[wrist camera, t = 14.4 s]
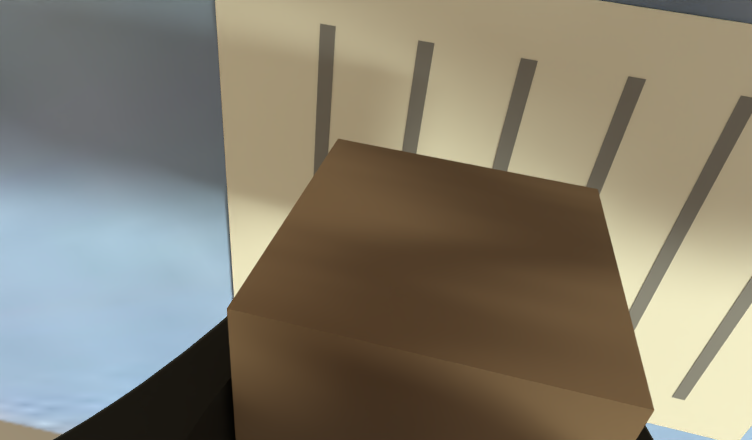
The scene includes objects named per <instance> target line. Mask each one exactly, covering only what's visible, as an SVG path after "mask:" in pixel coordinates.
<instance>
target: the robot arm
mask: <svg viewBox="0 0 752 440" xmlns="http://www.w3.org/2000/svg"><path fill="white" fill-rule="evenodd" d="M54 440H236V437H235V422H234V407H233V392H232V377H231V362H230V346H229V331H228V316H227V317H226V318H225V319H223V320H222V321H221V322H220V323H219V324H218V325H216V326H215V327H214V328H213V329H211V330H210V331H209V332H208V333H207V334H205V335H204V336H203V337H202V338H201V339H199V340H198V341H197V342H196V343H194V344H193V345H192V346H191V347H190V348H188V349H187V350H186V351H184V352H183V353H182V354H181V355H179V356H178V357H177V358H175V359H174V360H173V361H171V362H170V363H169V364H167V365H166V366H165V367H163V368H162V369H160V370H159V371H158V372H156V373H155V374H154V375H152V376H151V377H150V378H148V379H147V380H146V381H144V382H143V383H142V384H140V385H139V386H137V387H136V388H134V389H133V390H131V391H130V392H129V393H127V394H126V395H124V396H123V397H121V398H120V399H118V400H117V401H115V402H114V403H112V404H111V405H109V406H108V407H106V408H104V409H103V410H101V411H100V412H98V413H97V414H95V415H94V416H92V417H90V418H89V419H87V420H86V421H84V422H82V423H81V424H79V425H77V426H76V427H74V428H72V429H71V430H69V431H67V432H65V433H64V434H62V435H60V436H59V437H57V438H56V439H54ZM636 440H653V438H652V436H651V435H650V433H649V431H648V429H647V427H646V426H644V428H643V429H642V431H641V432H640V434H639V436H638V437H637V439H636Z"/></svg>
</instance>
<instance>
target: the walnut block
mask: <svg viewBox="0 0 752 440" xmlns="http://www.w3.org/2000/svg"><path fill="white" fill-rule="evenodd" d="M227 316H228V331H229V346H230V362H231V377H232V392H233V407H234V422H235V437H236V440H636V439H637V437H638V436H639V434H640V432H641V431H642V429H643V428H644V426H645V424H646V423H647V421H648V420H649V418H650V417H651V415H652V413H653V412H654V407H653V403H652V399H651V395H650V391H649V387H648V383H647V379H646V375H645V372H644V368H643V364H642V360H641V356H640V352H639V348H638V344H637V340H636V336H635V332H634V329H633V325H632V321H631V317H630V313H629V309H628V305H627V301H626V297H625V293H624V289H623V286H622V282H621V278H620V274H619V270H618V266H617V262H616V258H615V254H614V250H613V246H612V243H611V239H610V235H609V231H608V227H607V223H606V219H605V215H604V211H603V207H602V203H601V200H600V196H599V192H598V189H595V188H590V187H585V186H579V185H574V184H569V183H564V182H559V181H554V180H549V179H543V178H538V177H533V176H528V175H523V174H518V173H513V172H507V171H502V170H497V169H492V168H487V167H482V166H477V165H471V164H466V163H461V162H456V161H451V160H446V159H441V158H435V157H430V156H425V155H420V154H415V153H410V152H405V151H400V150H394V149H389V148H384V147H379V146H374V145H369V144H364V143H358V142H353V141H348V140H343V139H337V141H336V142H335V144H334V145H333V147H332V148H331V150H330V152H329V153H328V155H327V156H326V158H325V159H324V161H323V162H322V164H321V165H320V167H319V168H318V170H317V171H316V173H315V175H314V176H313V178H312V179H311V181H310V182H309V184H308V185H307V187H306V188H305V190H304V191H303V193H302V194H301V196H300V197H299V199H298V201H297V202H296V204H295V205H294V207H293V208H292V210H291V211H290V213H289V214H288V216H287V217H286V219H285V220H284V222H283V224H282V225H281V227H280V228H279V230H278V231H277V233H276V234H275V236H274V237H273V239H272V240H271V242H270V243H269V245H268V246H267V248H266V250H265V251H264V253H263V254H262V256H261V257H260V259H259V260H258V262H257V263H256V265H255V266H254V268H253V269H252V271H251V273H250V274H249V276H248V277H247V279H246V280H245V282H244V283H243V285H242V286H241V288H240V289H239V291H238V292H237V294H236V295H235V297H234V299H233V300H232V302H231V303H230V305H229V306H228V308H227Z"/></svg>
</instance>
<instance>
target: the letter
mask: <svg viewBox="0 0 752 440" xmlns="http://www.w3.org/2000/svg"><path fill="white" fill-rule="evenodd" d="M215 7H216V22H217V38H218V54H219V69H220V85H221V101H222V116H223V132H224V148H225V163H226V179H227V194H228V210H229V226H230V241H231V257H232V273H233V288H234V297H235V295H236V294H237V292H238V291H239V289H240V288H241V286H242V285H243V283H244V282H245V280H246V279H247V277H248V276H249V274H250V273H251V271H252V269H253V268H254V266H255V265H256V263H257V262H258V260H259V259H260V257H261V256H262V254H263V253H264V251H265V250H266V248H267V246H268V245H269V243H270V242H271V240H272V239H273V237H274V236H275V234H276V233H277V231H278V230H279V228H280V227H281V225H282V224H283V222H284V220H285V219H286V217H287V216H288V214H289V213H290V211H291V210H292V208H293V207H294V205H295V204H296V202H297V201H298V199H299V197H300V196H301V194H302V193H303V191H304V190H305V188H306V187H307V185H308V184H309V182H310V181H311V179H312V178H313V176H314V175H315V173H316V171H317V170H318V168H319V167H320V165H321V164H322V162H323V161H324V159H325V158H326V156H327V155H328V153H329V152H330V150H331V148H332V147H333V145H334V144H335V142H336V141H337V139H343V140H348V141H353V142H358V143H364V144H369V145H374V146H379V147H384V148H389V149H394V150H400V151H405V152H410V153H415V154H420V155H425V156H430V157H435V158H441V159H446V160H451V161H456V162H461V163H466V164H471V165H477V166H482V167H487V168H492V169H497V170H502V171H507V172H513V173H518V174H523V175H528V176H533V177H538V178H543V179H549V180H554V181H559V182H564V183H569V184H574V185H579V186H585V187H590V188H595V189H598V192H599V196H600V200H601V203H602V207H603V211H604V215H605V219H606V223H607V227H608V231H609V235H610V239H611V243H612V246H613V250H614V254H615V258H616V262H617V266H618V270H619V274H620V278H621V282H622V286H623V289H624V293H625V297H626V301H627V305H628V309H629V313H630V317H631V321H632V325H633V329H634V332H635V336H636V340H637V344H638V348H639V352H640V356H641V360H642V364H643V368H644V372H645V375H646V379H647V383H648V387H649V391H650V395H651V399H652V403H653V407H654V412H653V413H652V415H651V417H650V418H649V420H648V421H647V423H652V424H656V425H660V426H664V427H668V428H672V429H676V430H680V431H684V432H689V433H693V434H697V435H701V436H705V437H709V438H713V439H717V440H740V439H741V438H742V437H743V435H744V434H745V433H746V432H747V431H748V429H749V428H750V427H751V426H752V24H748V23H742V22H735V21H729V20H722V19H716V18H710V17H703V16H697V15H690V14H684V13H677V12H671V11H665V10H658V9H652V8H645V7H639V6H633V5H626V4H620V3H613V2H607V1H600V0H215Z"/></svg>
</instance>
